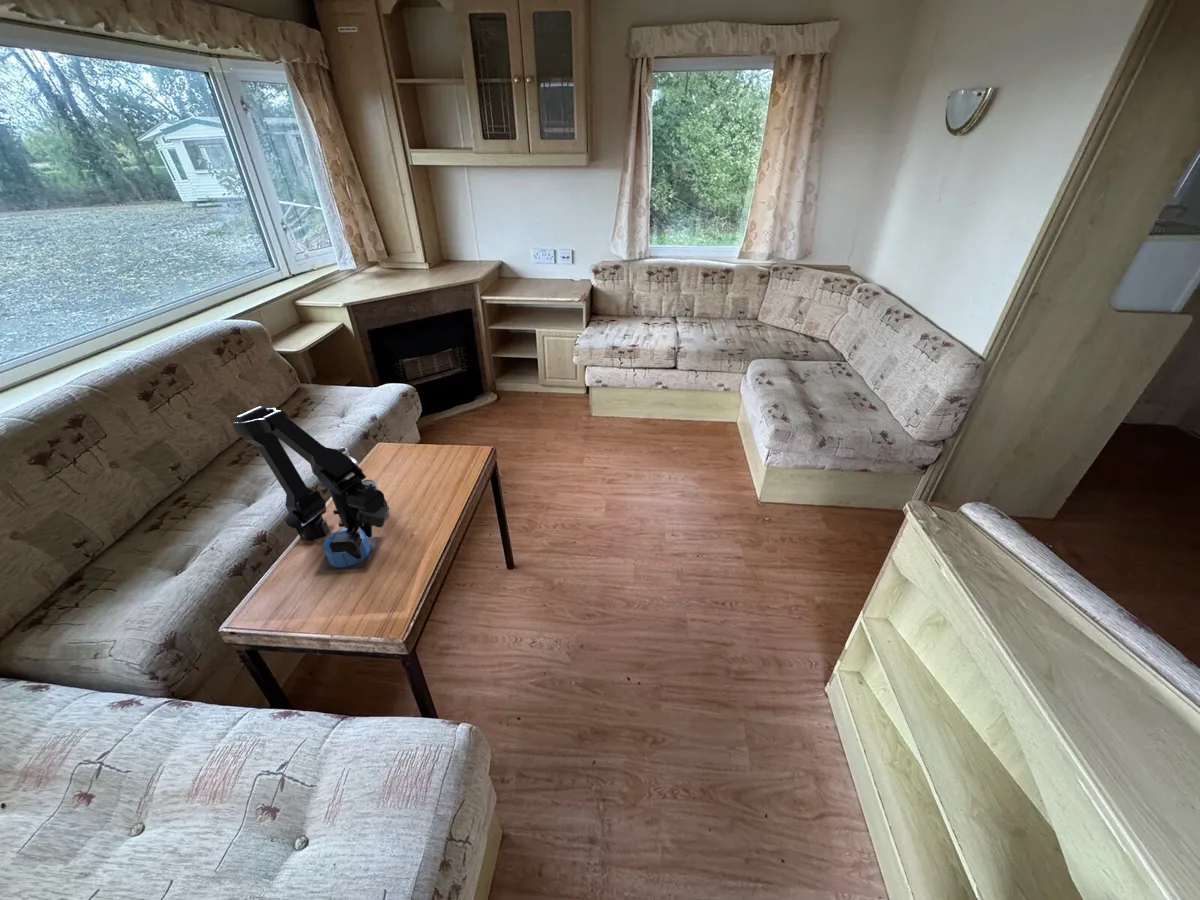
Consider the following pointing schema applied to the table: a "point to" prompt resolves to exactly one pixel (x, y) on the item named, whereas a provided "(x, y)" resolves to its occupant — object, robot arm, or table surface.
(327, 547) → the tape roll
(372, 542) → the tape stand
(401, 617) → the table surface
